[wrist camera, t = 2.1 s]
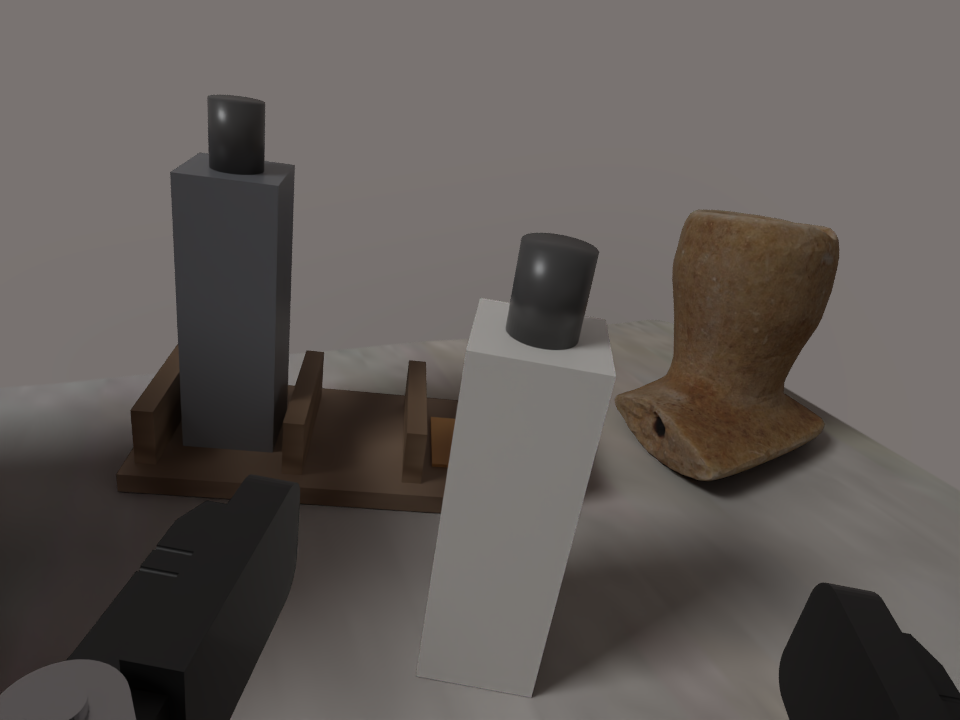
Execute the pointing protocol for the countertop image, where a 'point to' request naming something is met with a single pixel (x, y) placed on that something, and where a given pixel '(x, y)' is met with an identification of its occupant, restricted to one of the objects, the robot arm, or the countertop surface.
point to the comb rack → (305, 445)
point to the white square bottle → (517, 470)
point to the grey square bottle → (233, 282)
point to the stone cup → (735, 344)
